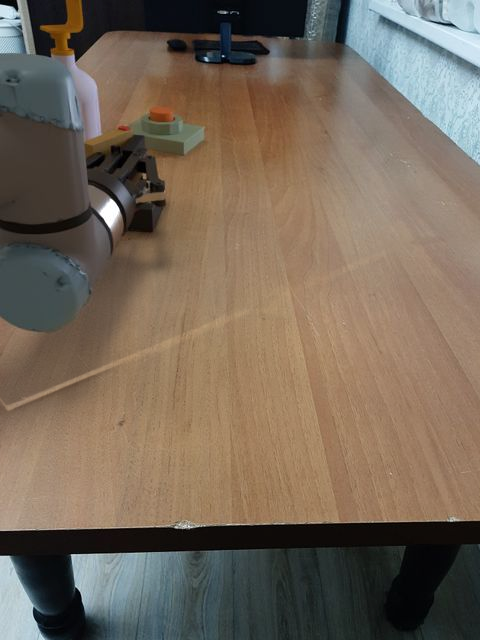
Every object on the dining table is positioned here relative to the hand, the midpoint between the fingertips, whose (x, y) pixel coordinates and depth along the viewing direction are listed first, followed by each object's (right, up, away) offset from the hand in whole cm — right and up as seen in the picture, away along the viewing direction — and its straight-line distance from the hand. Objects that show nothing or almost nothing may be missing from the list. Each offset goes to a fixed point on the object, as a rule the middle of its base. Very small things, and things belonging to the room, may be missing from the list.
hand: (140, 145), depth 74 cm
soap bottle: (-15, +6, +19) cm, 25 cm away
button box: (-2, +10, +26) cm, 28 cm away
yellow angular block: (-4, -6, 0) cm, 7 cm away
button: (-1, +13, +24) cm, 27 cm away
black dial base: (-4, -8, +1) cm, 9 cm away
